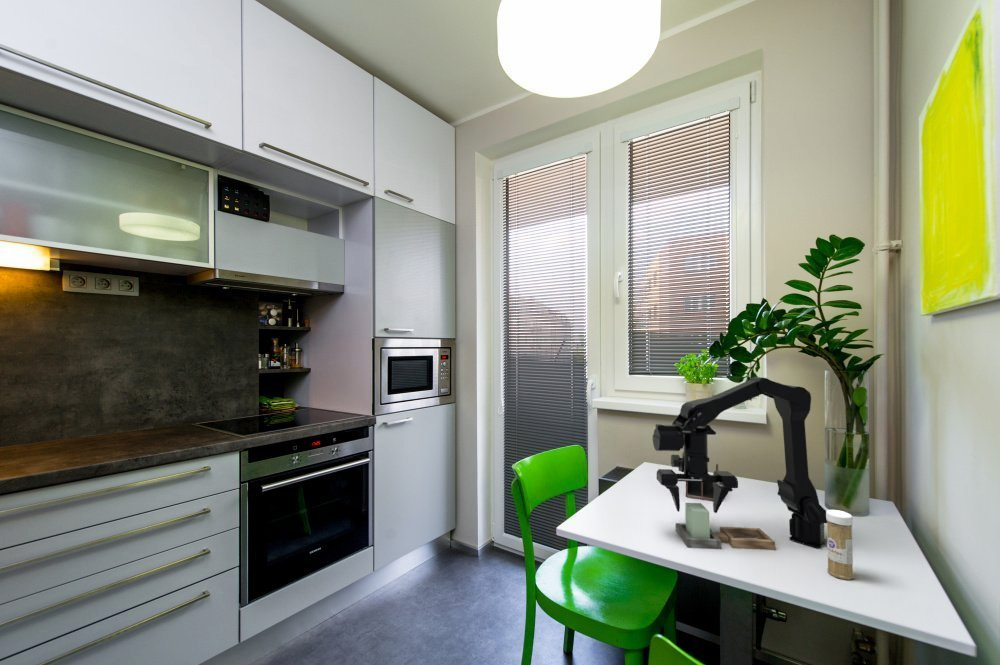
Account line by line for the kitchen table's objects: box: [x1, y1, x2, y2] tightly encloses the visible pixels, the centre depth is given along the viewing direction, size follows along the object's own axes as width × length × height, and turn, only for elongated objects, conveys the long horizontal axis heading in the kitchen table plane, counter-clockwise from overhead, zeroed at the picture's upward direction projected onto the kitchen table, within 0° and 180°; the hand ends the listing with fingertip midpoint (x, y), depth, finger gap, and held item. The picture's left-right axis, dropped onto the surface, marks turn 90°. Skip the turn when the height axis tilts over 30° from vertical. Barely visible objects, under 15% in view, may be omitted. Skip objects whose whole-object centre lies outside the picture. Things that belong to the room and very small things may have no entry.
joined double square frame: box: [675, 522, 776, 551], centre depth 111 cm, size 21×10×2 cm, turn 84°
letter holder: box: [685, 463, 719, 502], centre depth 150 cm, size 10×20×14 cm, turn 153°
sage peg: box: [684, 502, 711, 539], centre depth 112 cm, size 6×4×8 cm, turn 174°
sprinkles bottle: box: [826, 509, 854, 581], centre depth 94 cm, size 5×5×13 cm
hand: (696, 511), depth 112 cm, fingers open, 9 cm apart
